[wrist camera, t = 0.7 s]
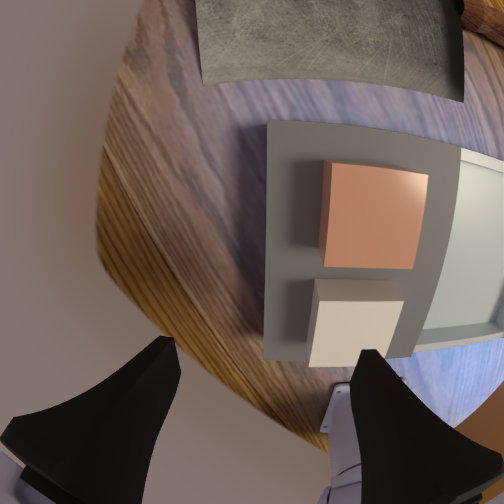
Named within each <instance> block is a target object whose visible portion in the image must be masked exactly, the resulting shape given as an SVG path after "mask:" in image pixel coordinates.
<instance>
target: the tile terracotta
mask: <svg viewBox="0 0 504 504" xmlns="http://www.w3.org/2000/svg"><path fill="white" fill-rule="evenodd" d="M427 184H428V175H427V174H424V173H420V172H417V171H414V170H410V169H406V168H399V167H392V166H384V165H376V164H368V163H359V162H349V161H337V160H324V165H323V187H322V203H321V218H320V231H319V242H318V249H319V252H320V256H321V259H322V262H323V265H324V267H351V268H388V269H413V265H414V261H415V257H416V252H417V247H418V242H419V237H420V232H421V226H422V220H423V214H424V207H425V200H426V192H427Z"/></svg>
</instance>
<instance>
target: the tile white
mask: <svg viewBox="0 0 504 504" xmlns="http://www.w3.org/2000/svg"><path fill="white" fill-rule="evenodd" d="M403 303H404V300H403V299H402V297H401V296H400V294H399V293H398V291H397V290H396V288H395V287H394V285H393V284H392V282H391V281H390V280H345V279H315V282H314V290H313V298H312V306H311V314H310V321H309V328H308V335H307V341H306V342H307V354H308V367H345V366H356V364H357V361H358V358H359V356H360V353H361V350H362V349H376V350H377V351H378V352H379V353H380V354H381V355H382V357H383V358H385V355H386V353H387V350H388V348H389V345H390V342H391V339H392V337H393V334H394V331H395V328H396V325H397V322H398V319H399V316H400V313H401V309H402V306H403Z"/></svg>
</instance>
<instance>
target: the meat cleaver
mask: <svg viewBox="0 0 504 504" xmlns="http://www.w3.org/2000/svg"><path fill="white" fill-rule="evenodd" d="M195 2H196V15H197V28H198V39H199V50H200V60H201V70H202V80H203V86H205V85H213V84H221V83H230V82H240V81H253V80H271V79H321V80H339V81H352V82H362V83H371V84H378V85H385V86H392V87H398V88H404V89H409V90H414V91H419V92H424V93H428V94H432V95H436V96H440V97H444V98H448V99H452V100H455V101H459V102H462V103H464V47H463V34H462V25H463V26H464V27H465V28H466V29H467V30H469V31H473V32H479V33H483V34H484V35H485V36H487V37H488V38H489V39H491V40H492V41H494V42H496V43H497V44H499V45H501V46H503V47H504V13H502V12H500V11H499V10H497V9H494V8H492V7H490V6H487V5H486V4H485V3H484V2H483V1H482V0H195Z"/></svg>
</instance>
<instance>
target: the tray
mask: <svg viewBox="0 0 504 504" xmlns="http://www.w3.org/2000/svg"><path fill="white" fill-rule="evenodd" d="M499 338H504V162H503V161H501V160H498V159H495V158H492V157H489V156H486V155H483V154H480V153H477V152H474V151H471V150H467V149H464V148H461V163H460V175H459V184H458V192H457V200H456V206H455V212H454V218H453V224H452V229H451V234H450V239H449V243H448V248H447V252H446V256H445V260H444V264H443V268H442V271H441V275H440V278H439V282H438V285H437V288H436V292H435V295H434V298H433V301H432V304H431V307H430V310H429V312H428V315H427V318H426V321H425V323H424V326H423V329H422V331H421V334H420V336H419V339H418V341H417V343H416V346H415V348H414V350H413V352H420V351H429V350H437V349H444V348H451V347H457V346H463V345H469V344H475V343H480V342H485V341H490V340H495V339H499Z"/></svg>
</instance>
